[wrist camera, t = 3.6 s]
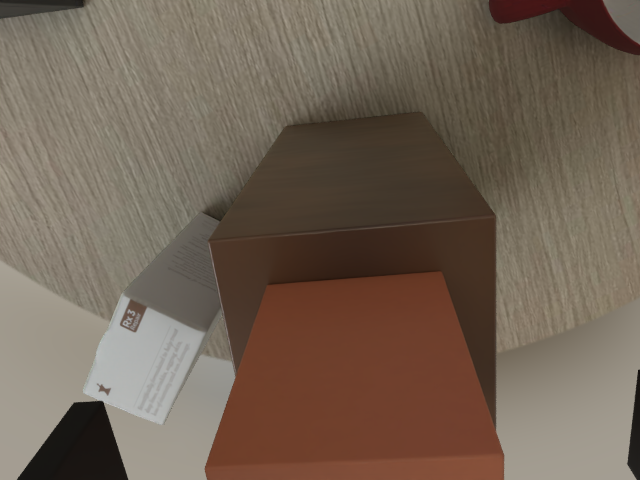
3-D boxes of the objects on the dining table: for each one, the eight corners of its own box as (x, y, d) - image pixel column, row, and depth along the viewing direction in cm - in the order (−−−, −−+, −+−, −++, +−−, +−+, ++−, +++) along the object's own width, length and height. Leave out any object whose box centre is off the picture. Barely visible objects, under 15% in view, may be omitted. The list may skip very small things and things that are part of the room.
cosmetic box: (224, 310, 37) (166, 436, 26) (163, 282, 36) (77, 398, 25) (261, 235, 35) (215, 337, 23) (196, 204, 34) (117, 293, 23)
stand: (302, 250, 35) (251, 461, 18) (284, 126, 32) (205, 240, 15) (428, 240, 34) (496, 450, 17) (422, 111, 31) (497, 214, 14)
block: (290, 423, 18) (251, 658, 11) (266, 283, 16) (202, 468, 9) (447, 414, 17) (503, 656, 11) (442, 270, 15) (505, 455, 9)
